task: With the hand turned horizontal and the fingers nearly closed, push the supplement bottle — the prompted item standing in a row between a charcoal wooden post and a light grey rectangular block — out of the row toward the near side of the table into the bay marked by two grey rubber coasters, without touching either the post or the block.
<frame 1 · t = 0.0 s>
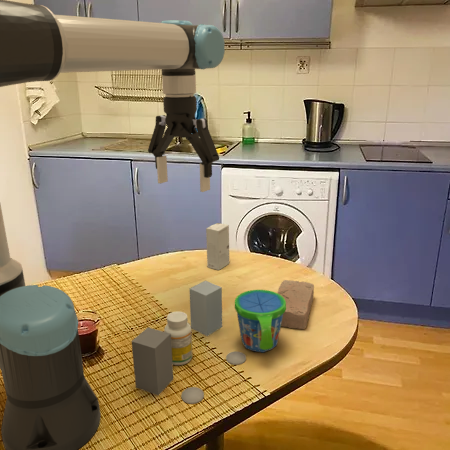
hand: (183, 186, 111), 28 cm above the table, tool pointing down, fingers open, 13 cm apart
skincare box: (218, 265, 135), on the table
brick: (292, 311, 110), on the table
coaster right: (236, 358, 92), on the table
post charcoal: (154, 383, 85), on the table
light grey rectangular block: (206, 327, 103), on the table
supplement bottle: (179, 358, 93), on the table
coaster left: (192, 395, 82), on the table
snack cup: (259, 343, 97), on the table
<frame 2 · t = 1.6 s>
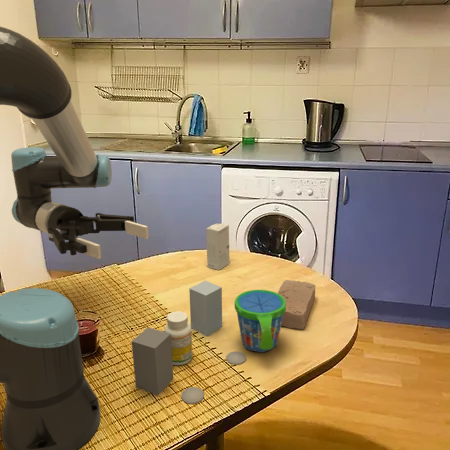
hand: (124, 241, 93), 22 cm above the table, tool horizontal, fingers open, 12 cm apart
nothing on the table moved.
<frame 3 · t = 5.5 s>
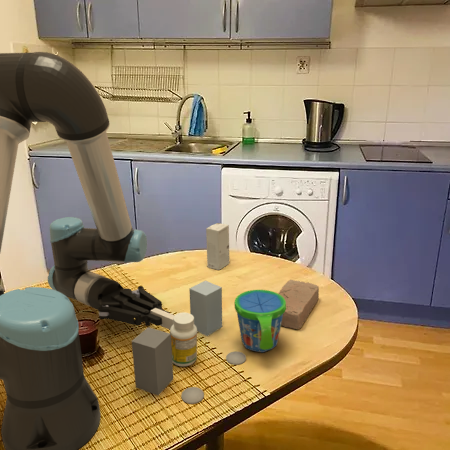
hand: (176, 324, 92), 7 cm above the table, tool horizontal, fingers closed
supplement bottle: (183, 359, 92), on the table, touching gripper
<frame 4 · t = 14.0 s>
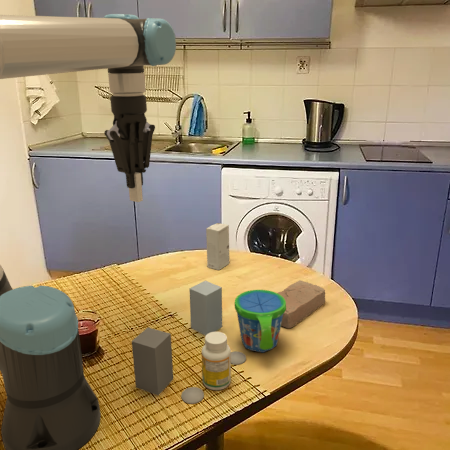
hand: (136, 200, 105), 26 cm above the table, tool pointing down, fingers closed
supplement bottle: (216, 382, 86), on the table
at the end: supplement bottle inside the target area (1.3 cm from its centre), on the table; post charcoal moved 0.0 cm from its start; light grey rectangular block moved 0.0 cm from its start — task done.
